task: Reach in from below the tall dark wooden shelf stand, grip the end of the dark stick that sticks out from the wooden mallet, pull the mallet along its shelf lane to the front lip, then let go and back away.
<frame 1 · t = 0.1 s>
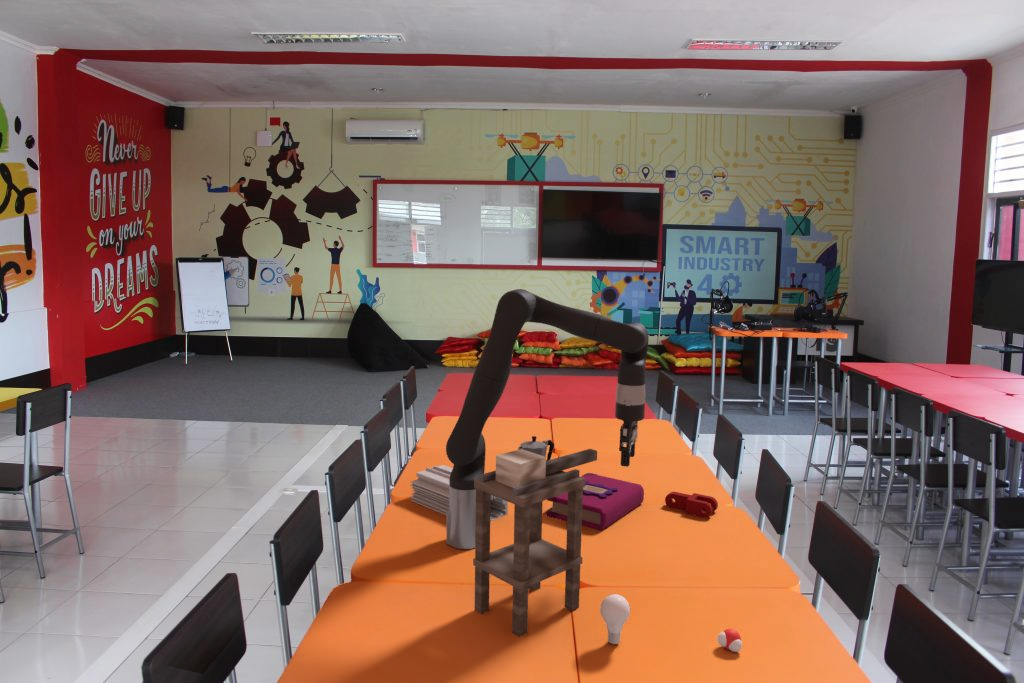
hand: (627, 461, 196), 29 cm above the table, tool pointing down, fingers open, 8 cm apart
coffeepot: (535, 486, 262), on the table
wooden mallet: (520, 481, 170), point 32 cm above the table, touching shelf stand
mechanical linkage: (689, 511, 242), on the table
book: (594, 511, 241), on the table
shelf stand: (527, 608, 177), on the table
molecule: (728, 650, 162), on the table
stack of papers: (457, 508, 241), on the table
lightbulb: (613, 644, 163), on the table
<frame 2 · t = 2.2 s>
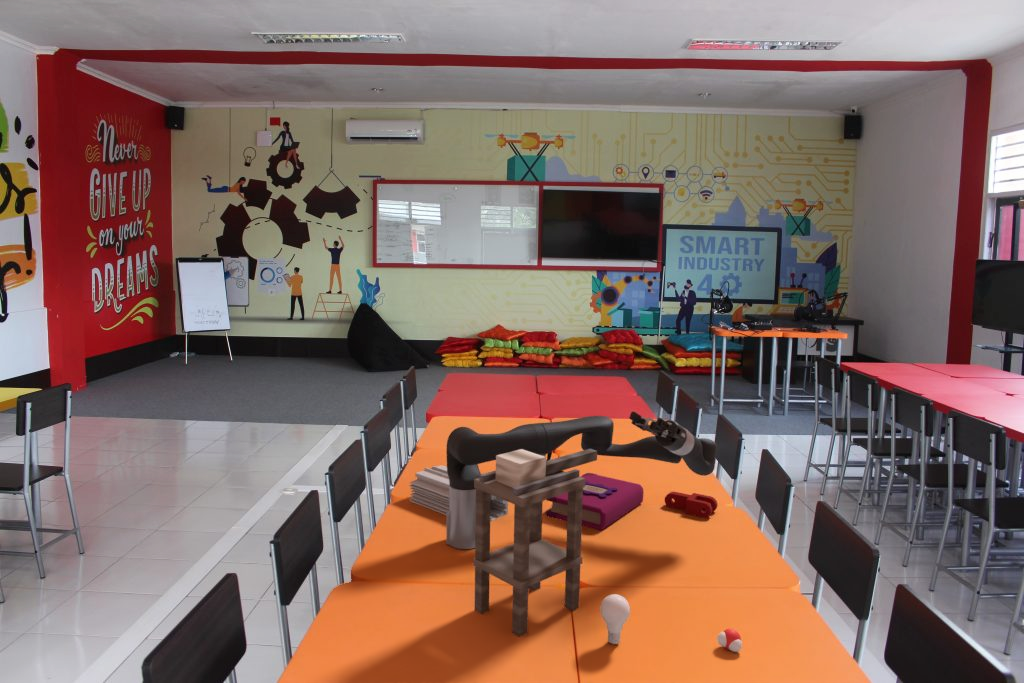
hand: (644, 418, 196), 40 cm above the table, tool pointing upward, fingers open, 8 cm apart
nothing on the table moved.
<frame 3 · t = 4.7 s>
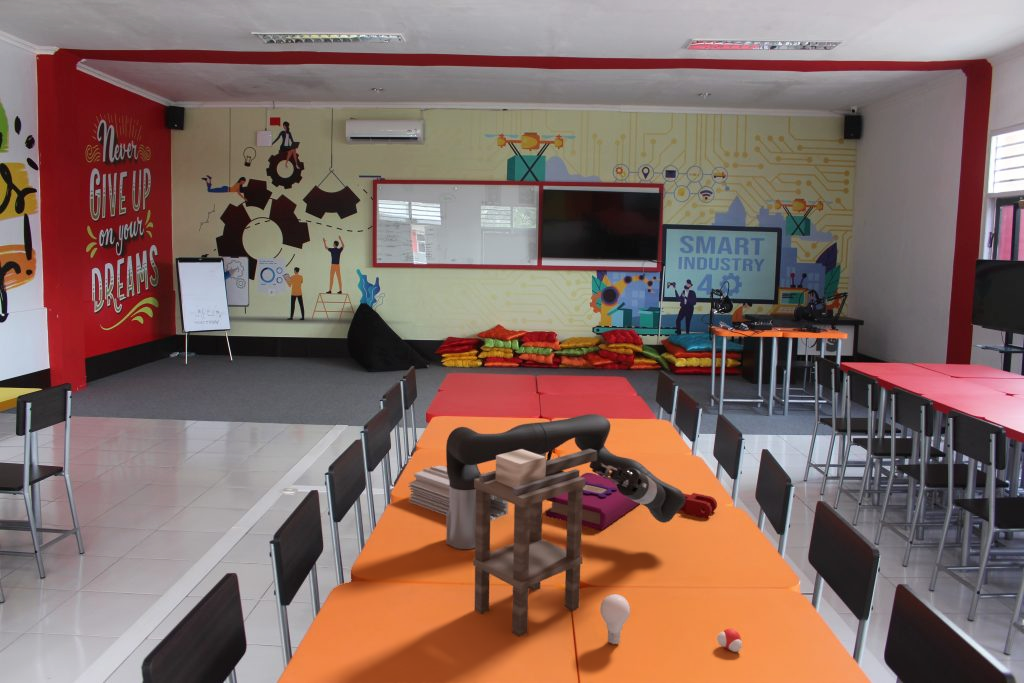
hand: (604, 467, 190), 30 cm above the table, tool pointing upward, fingers open, 8 cm apart
nothing on the table moved.
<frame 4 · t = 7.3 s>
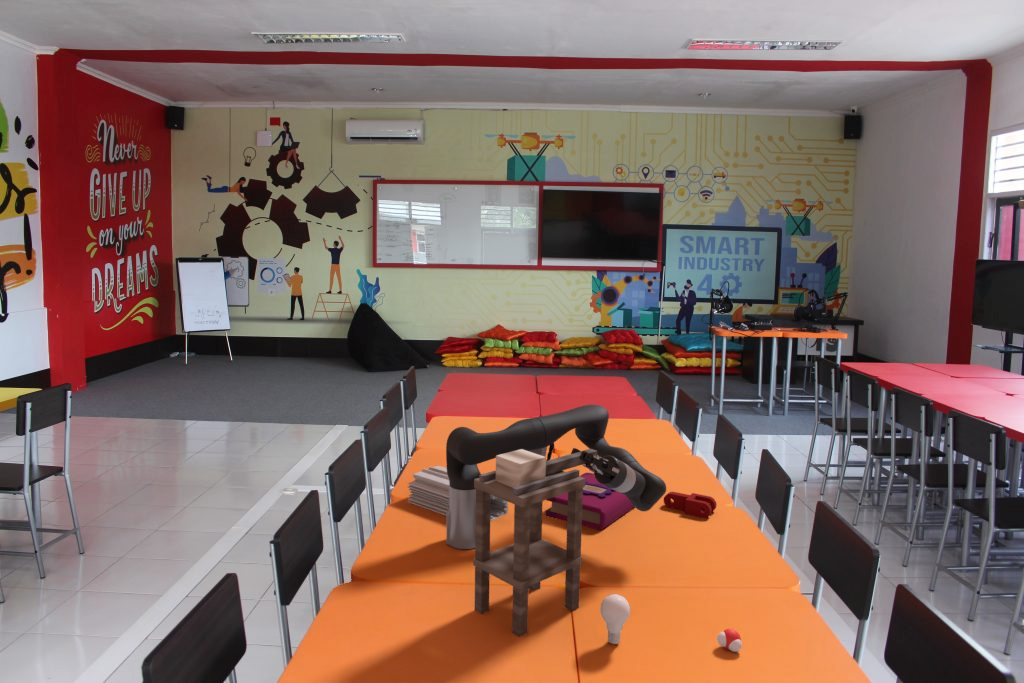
hand: (577, 453, 183), 35 cm above the table, tool pointing upward, fingers closed on wooden mallet, 2 cm apart
wooden mallet: (520, 481, 170), point 32 cm above the table, touching gripper, shelf stand
everything else where it was.
when the fingers open (35 cm above the table, at t = 9.4 s): wooden mallet stays where it is, resting on shelf stand.
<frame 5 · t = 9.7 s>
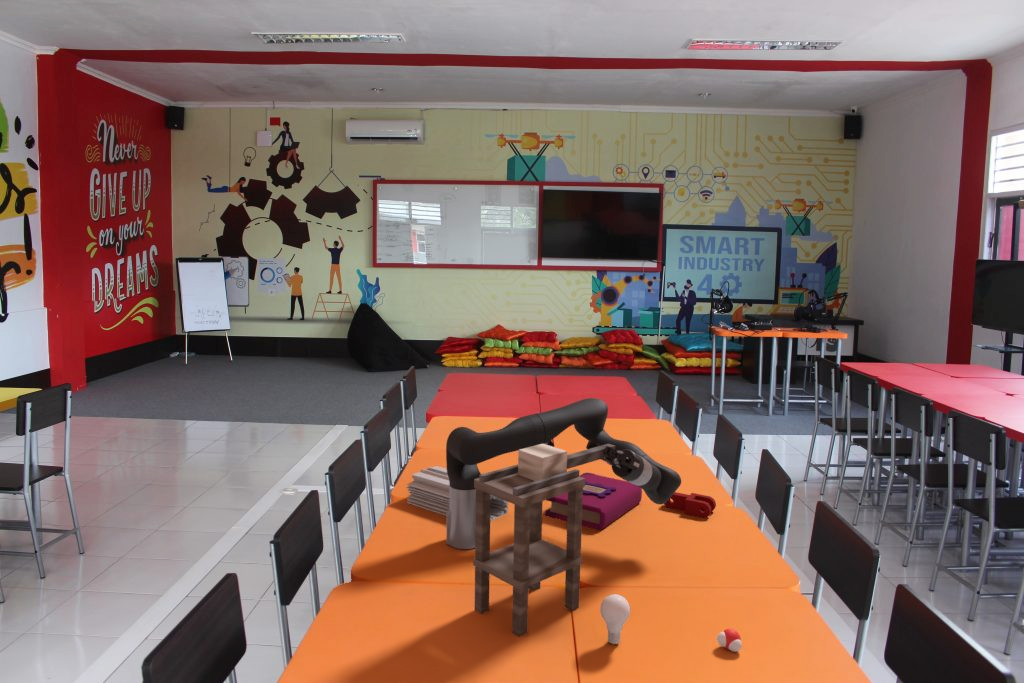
hand: (597, 447, 188), 35 cm above the table, tool pointing upward, fingers open, 5 cm apart
wooden mallet: (542, 475, 175), point 32 cm above the table, touching shelf stand
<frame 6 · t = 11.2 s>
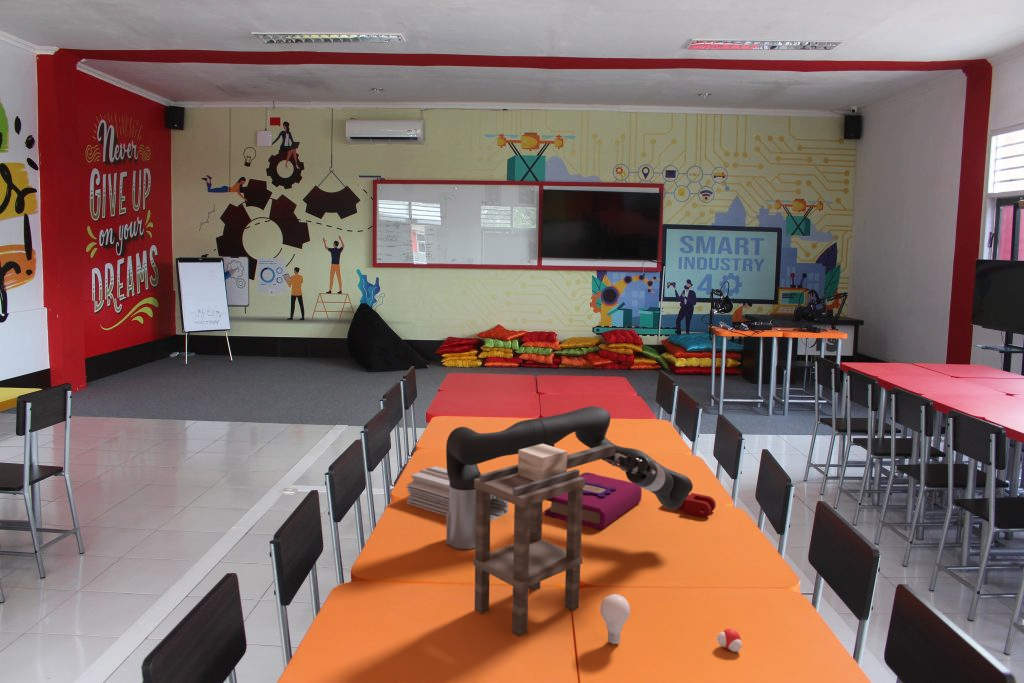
hand: (613, 454, 191), 32 cm above the table, tool pointing upward, fingers open, 8 cm apart
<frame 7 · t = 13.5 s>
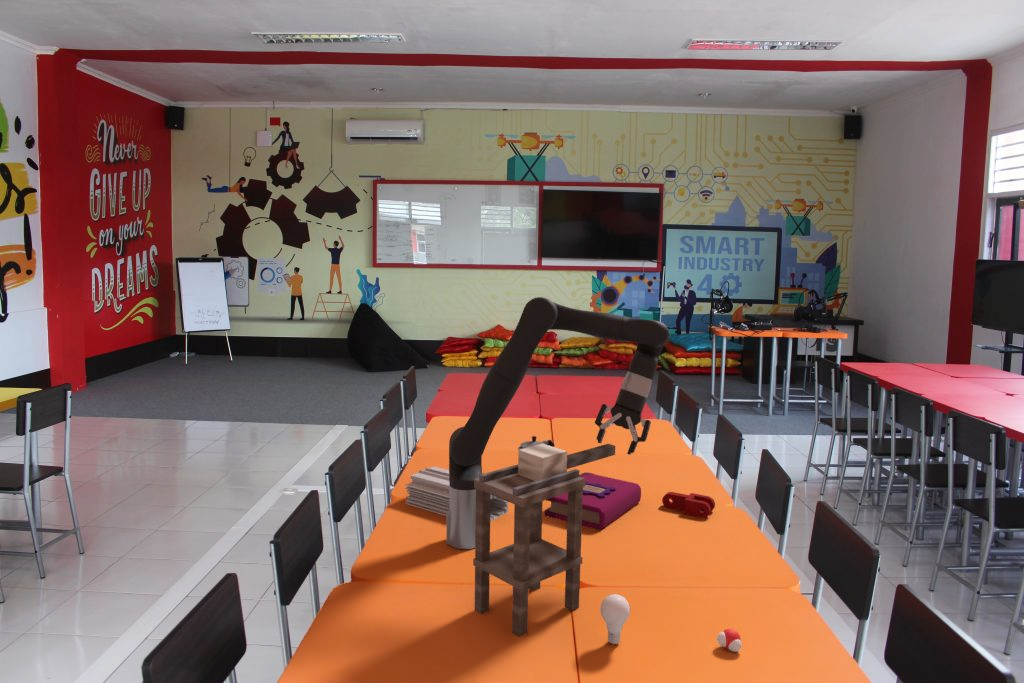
hand: (613, 448, 202), 31 cm above the table, tool tilted 20°, fingers open, 8 cm apart
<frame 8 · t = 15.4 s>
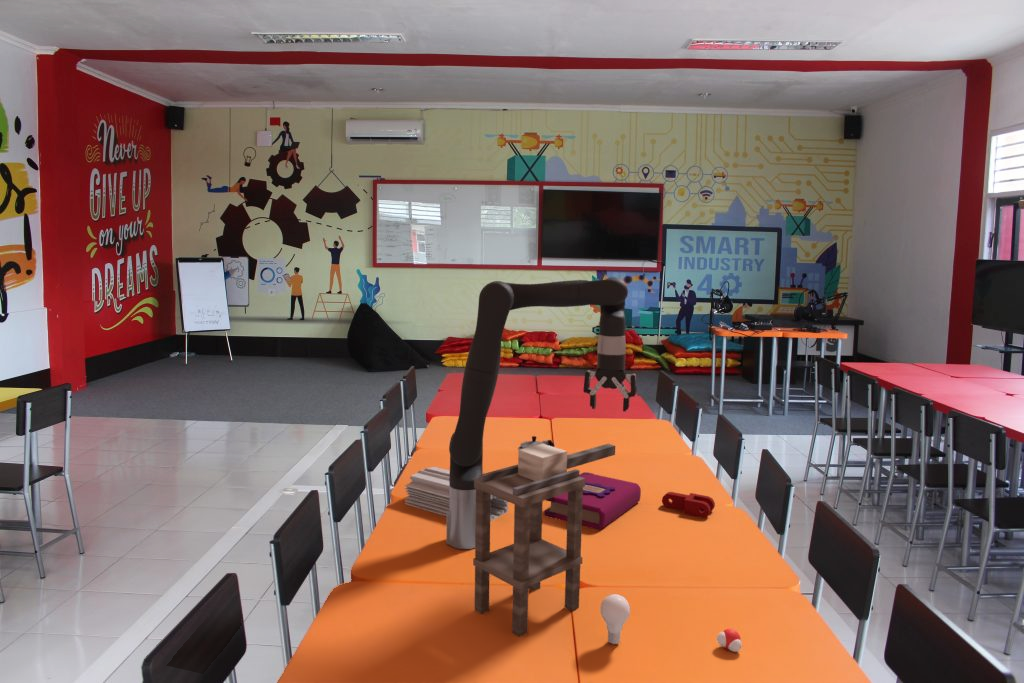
hand: (609, 409, 206), 40 cm above the table, tool pointing down, fingers open, 8 cm apart
at the end: wooden mallet 0.8 cm from the target spot on the shelf stand, point 32.0 cm above the shelf stand's base; wooden mallet tilted 0°; the gripper is holding nothing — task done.
